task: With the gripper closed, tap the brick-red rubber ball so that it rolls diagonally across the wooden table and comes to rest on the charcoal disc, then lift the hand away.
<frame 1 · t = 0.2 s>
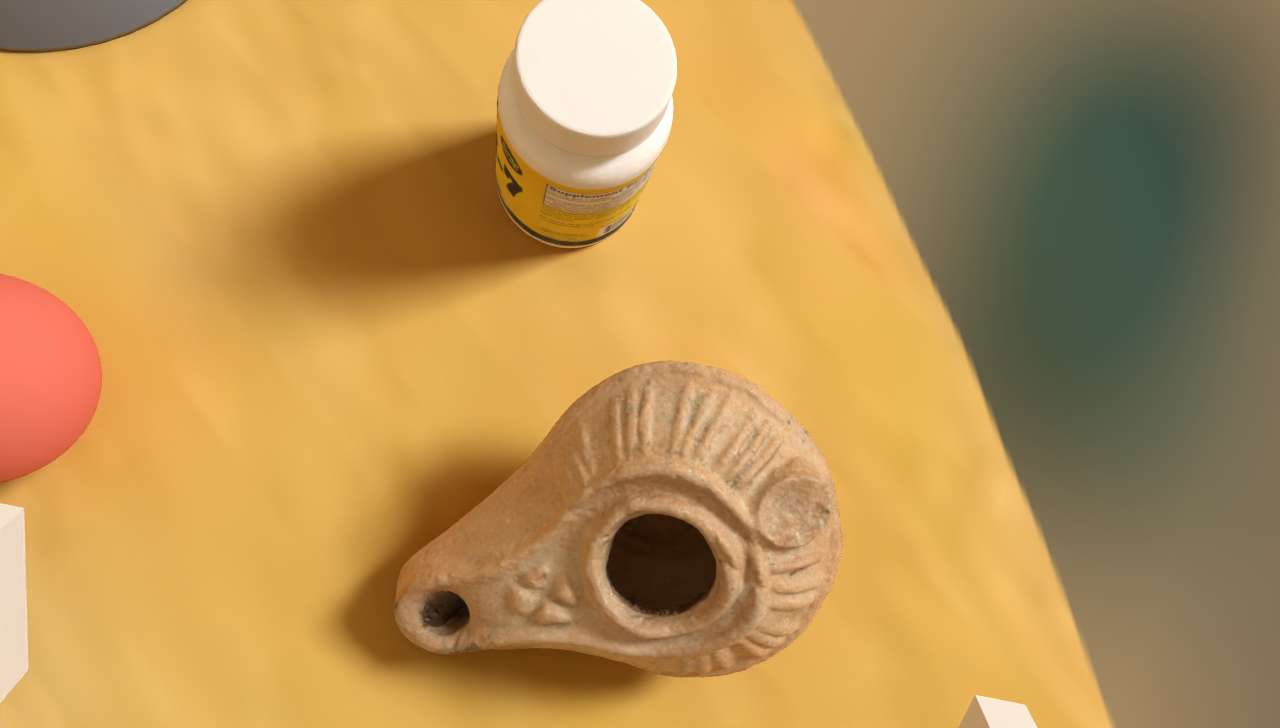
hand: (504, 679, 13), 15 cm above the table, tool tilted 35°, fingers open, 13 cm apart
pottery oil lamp: (591, 543, 29), on the table
supplement bottle: (566, 184, 31), on the table
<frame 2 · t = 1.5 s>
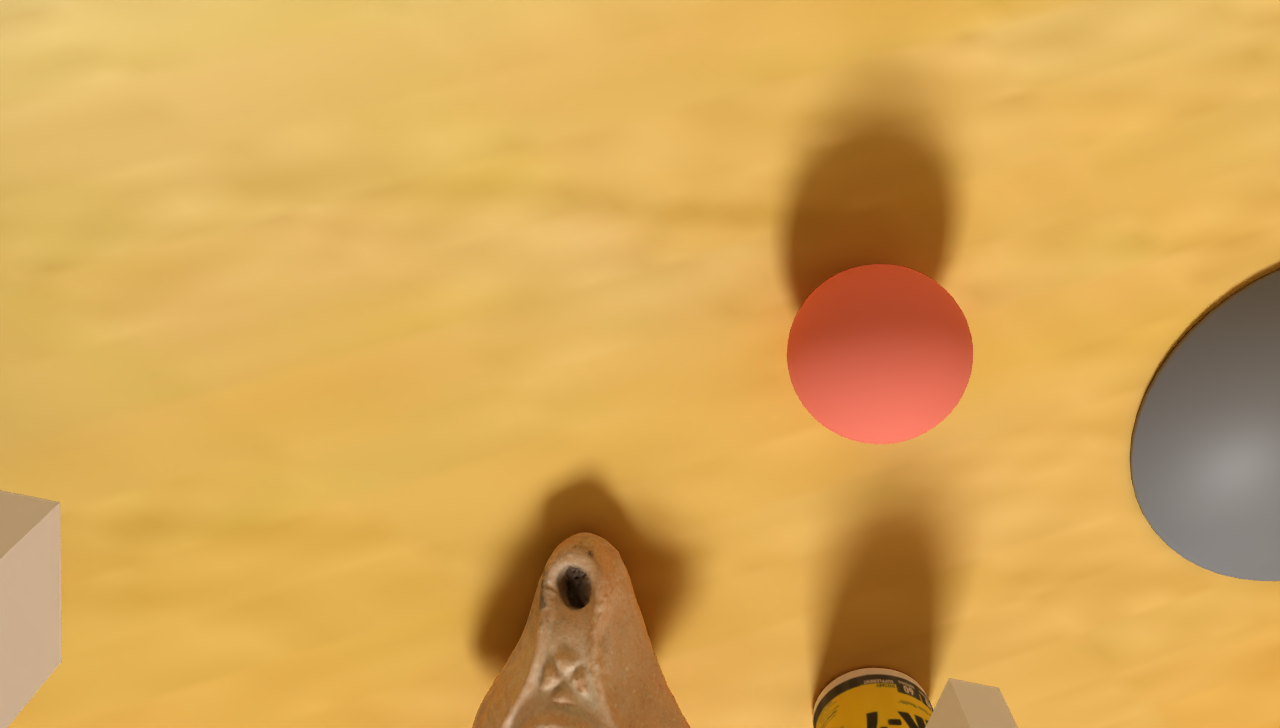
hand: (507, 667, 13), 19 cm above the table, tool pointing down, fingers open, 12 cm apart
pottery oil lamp: (590, 644, 37), on the table
ball: (877, 354, 29), on the table
supplement bottle: (867, 704, 38), on the table
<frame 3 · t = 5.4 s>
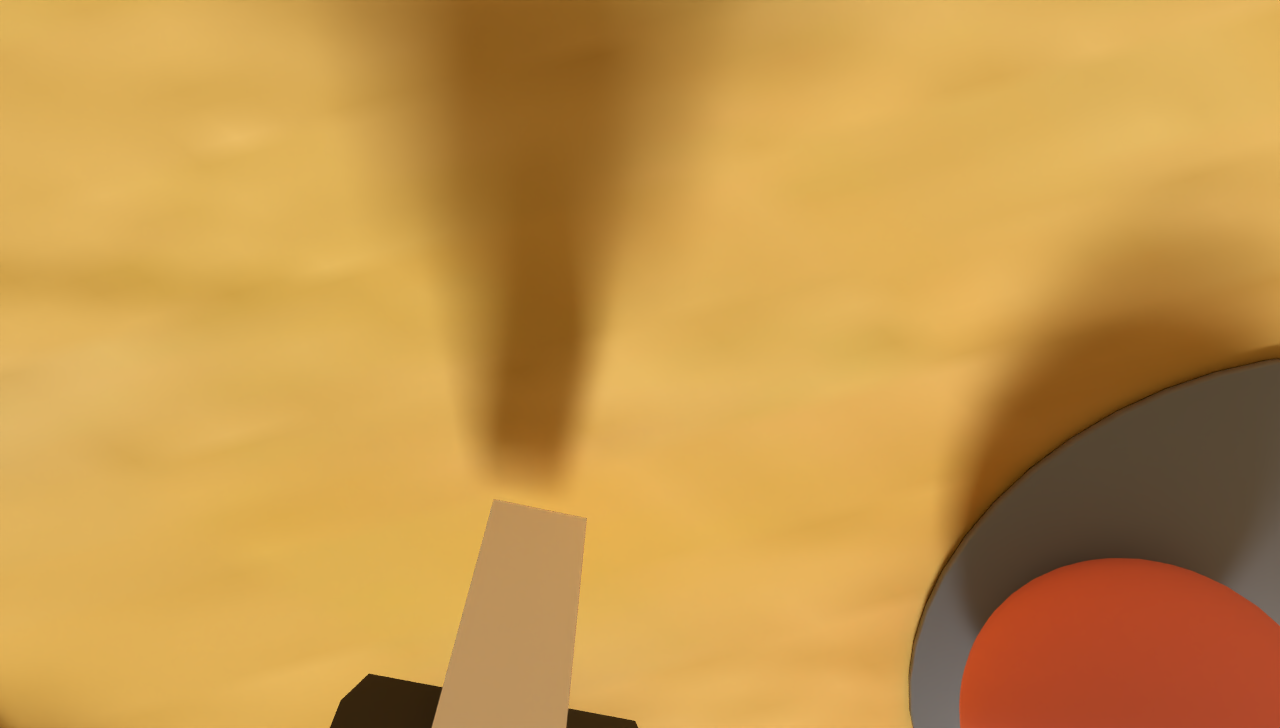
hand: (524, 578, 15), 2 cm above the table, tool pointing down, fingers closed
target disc: (1244, 659, 18), on the table
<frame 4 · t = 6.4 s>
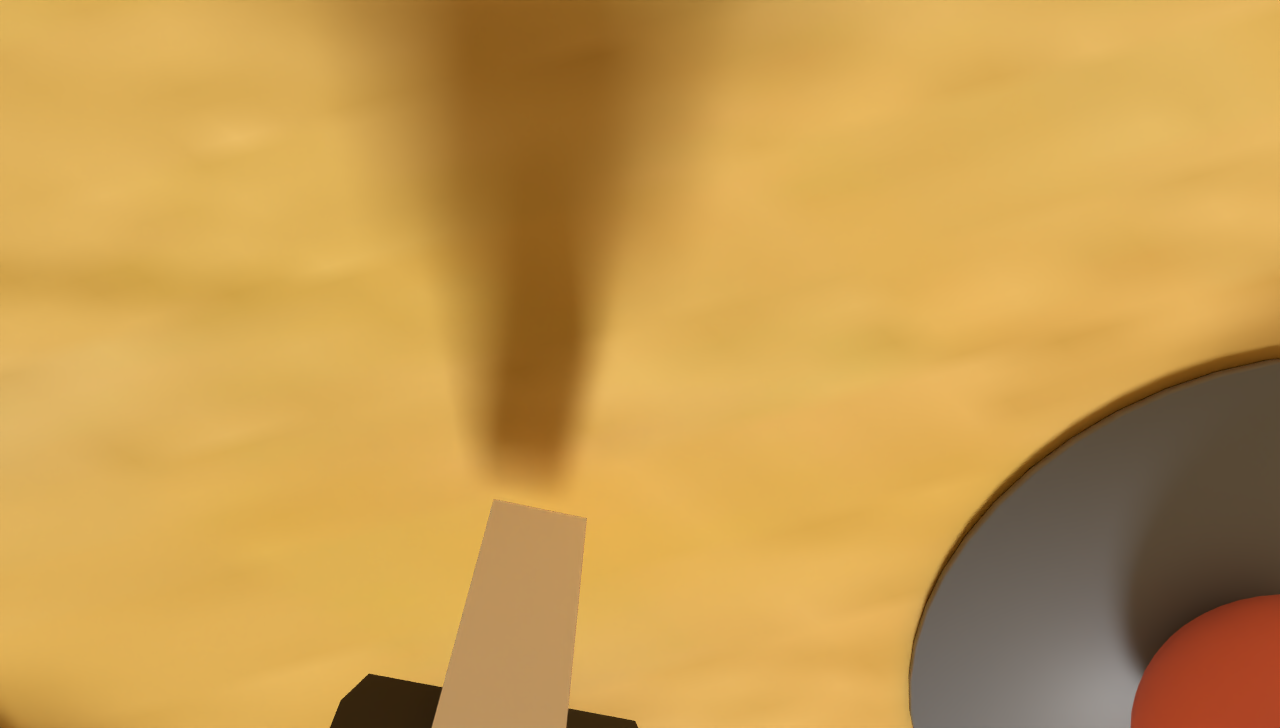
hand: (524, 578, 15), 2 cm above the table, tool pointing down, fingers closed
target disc: (1244, 659, 18), on the table
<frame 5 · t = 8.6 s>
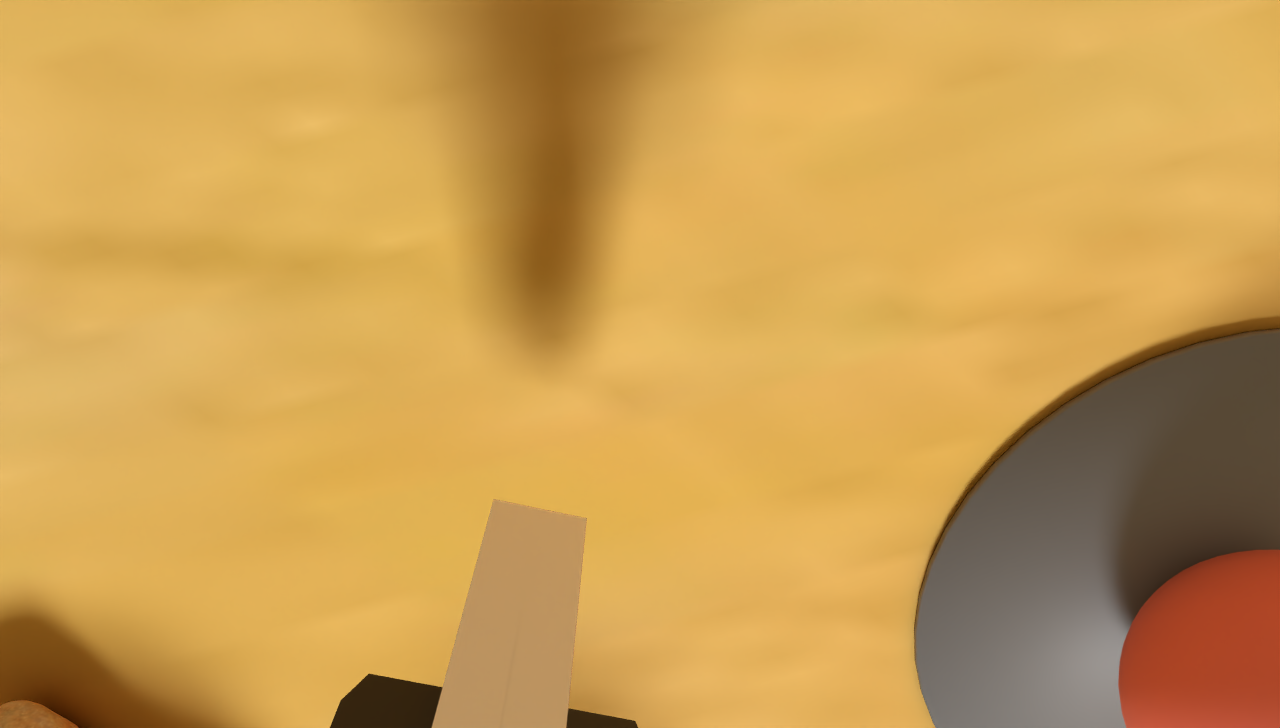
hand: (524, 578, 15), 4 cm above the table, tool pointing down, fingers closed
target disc: (1228, 615, 20), on the table
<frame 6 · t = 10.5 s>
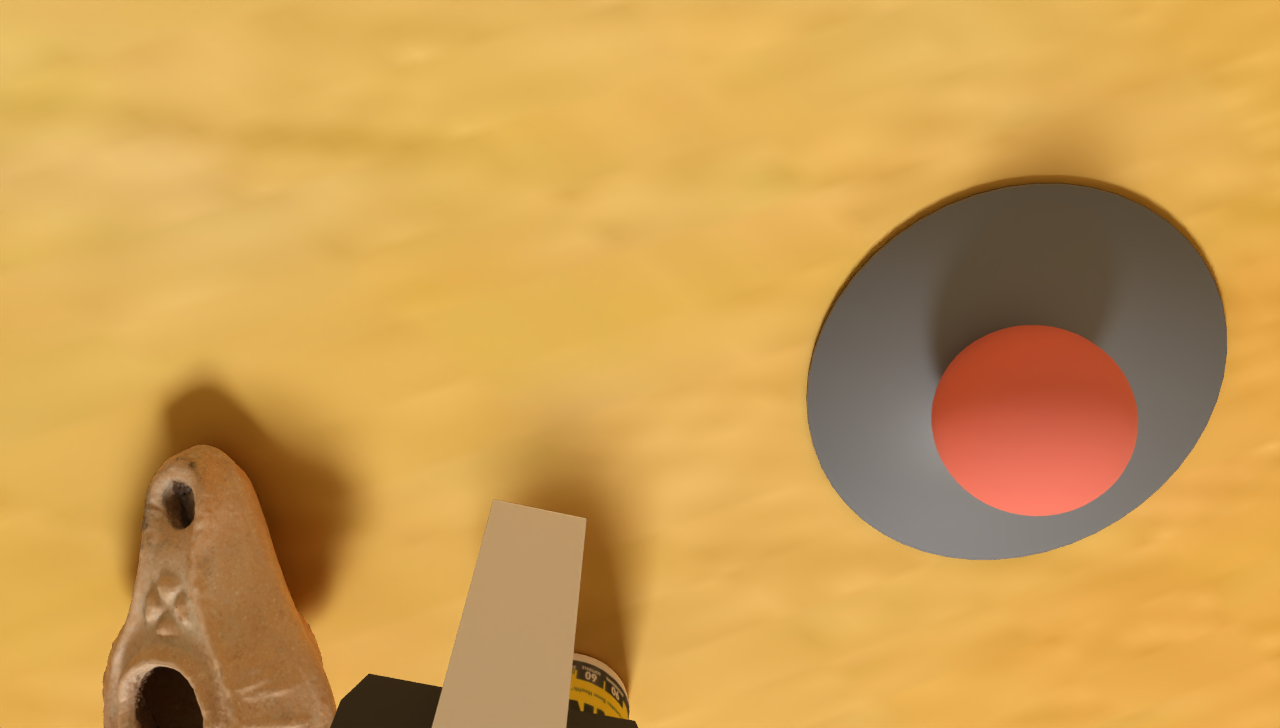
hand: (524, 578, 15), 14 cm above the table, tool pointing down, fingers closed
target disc: (1011, 386, 30), on the table
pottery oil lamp: (256, 578, 33), on the table
ball: (1030, 419, 27), resting on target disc
supplement bottle: (565, 692, 35), on the table
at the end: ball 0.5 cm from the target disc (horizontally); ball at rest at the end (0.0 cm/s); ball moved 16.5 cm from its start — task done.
